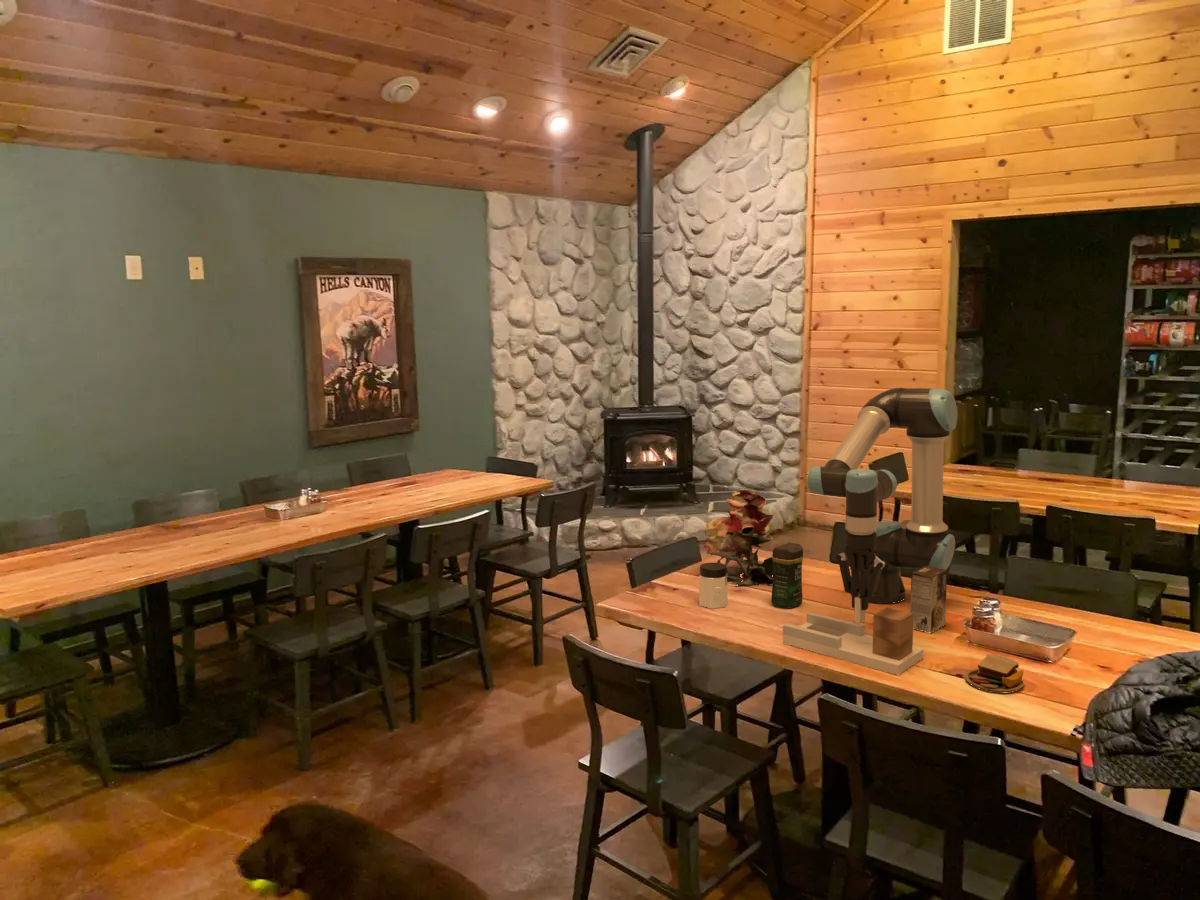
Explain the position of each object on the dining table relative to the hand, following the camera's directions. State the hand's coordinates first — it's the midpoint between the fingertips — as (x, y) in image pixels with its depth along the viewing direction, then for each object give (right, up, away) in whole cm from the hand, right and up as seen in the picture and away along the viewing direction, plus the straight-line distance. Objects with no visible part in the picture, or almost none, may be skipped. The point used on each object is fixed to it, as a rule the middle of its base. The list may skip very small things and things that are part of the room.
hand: (859, 620), depth 221 cm
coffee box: (+24, -6, +18) cm, 31 cm away
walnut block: (+6, -7, -6) cm, 11 cm away
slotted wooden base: (-2, -8, +2) cm, 9 cm away
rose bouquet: (-18, +1, +70) cm, 72 cm away
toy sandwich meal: (+26, -11, -19) cm, 34 cm away
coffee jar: (-10, -3, +40) cm, 42 cm away
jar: (-32, -3, +42) cm, 52 cm away
